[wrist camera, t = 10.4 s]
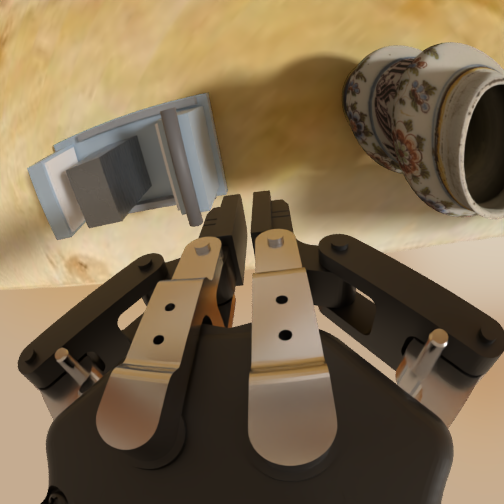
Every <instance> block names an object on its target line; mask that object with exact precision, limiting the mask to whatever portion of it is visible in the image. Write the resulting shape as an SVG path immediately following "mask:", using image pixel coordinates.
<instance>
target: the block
mask: <svg viewBox="0 0 504 504" xmlns="http://www.w3.org/2000/svg"><path fill="white" fill-rule="evenodd" d="M66 173H67V176H68V179H69V181H70V184H71V187H72V189H73V192H74V194H75V197H76V199H77V202H78V204H79V207H80V209H81V211H82V214H83V216H84V218H85V221H86V223H87V225H88V227H89V228H92V227H97V226H102V225H106V224H111V223H116V222H120V221H123V219H124V218H125V217H126V216H127V214H128V213H129V212H130V211H131V210H132V208H133V207H134V206H135V205H136V204H137V202H138V201H139V200H140V199H141V198H142V197H143V195H144V194H145V193H146V192H147V191H148V190H149V189H150V187H151V186H152V184H151V180H150V177H149V174H148V171H147V168H146V164H145V161H144V158H143V154H142V151H141V147H140V144H139V140H138V137H137V135H136V136H133V137H130V138H126V139H123V140H121V141H118V142H115V143H112V144H109V145H107V146H105V147H103V148H101V149H99V150H98V151H96V152H94V153H93V154H91V155H89V156H88V157H86V158H84V159H83V160H81V161H79V162H78V163H76V164H75V165H73V166H72V167H70V168H69V169H67V170H66Z"/></svg>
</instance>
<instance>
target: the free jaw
mask: <svg viewBox="0 0 504 504" xmlns="http://www.w3.org/2000/svg"><path fill="white" fill-rule="evenodd" d="M160 114H161V119H159V120H157V124H155V127H156V131H157V135H158V139H159V143H160V147H161V151H162V155H163V159H164V162H165V166H166V170H167V173H168V177H169V181H170V184H171V188H172V191H173V195H174V198H175V202H176V205H177V208H178V210H181V213H182V215H184V214H187V217H188V221H189V224H190V226H192V227H195V226H199V225H201V224H202V223H203V219H202V215H201V212H204V211H210V210H211V207H212V204H213V201H214V199H215V196H216V193H217V191H218V188H219V185H220V184H219V180H218V175H217V170H216V166H215V161H214V156H213V151H212V146H211V142H210V137H209V132H208V127H207V122H206V117H205V112H204V107H203V106H199V107H194V108H190V109H186V110H181V111H178V112H176V108H175V107H174V108H170V109H166V110H163V111H160Z"/></svg>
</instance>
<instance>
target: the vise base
mask: <svg viewBox="0 0 504 504" xmlns="http://www.w3.org/2000/svg"><path fill="white" fill-rule="evenodd" d="M199 106H203V107H204V112H205V117H206V122H207V127H208V132H209V137H210V142H211V146H212V151H213V156H214V161H215V166H216V170H217V175H218V180H219V184H220V185H219V188H218V191H217V193H216V196H215V199H216V197H217V196H219V195H226V194H227V191H228V189H227V185H226V180H225V175H224V170H223V165H222V160H221V155H220V150H219V145H218V140H217V135H216V130H215V124H214V119H213V114H212V109H211V104H210V99H209V94H208V93H204V94H199V95H195V96H191V97H186V98H182V99H178V100H174V101H170V102H167V103H163V104H160V105H156V106H153V107H149V108H146V109H143V110H140V111H137V112H133V113H130V114H128V115H125V116H122V117H119V118H116V119H113V120H111V121H108V122H105V123H103V124H100V125H98V126H95V127H93V128H90V129H88V130H86V131H83V132H81V133H79V134H76V135H74V136H72V137H70V138H68V139H65V140H63V141H61V142H59V143H57V144H55V145H54V149H55V152H54V153H53V154H51V155H49V156H47V157H45V158H44V159H42V160H40V161H39V162H37V163H35V164H34V165H32V166H30V167H29V168H27V169H28V172H29V175H30V178H31V180H32V183H33V186H34V188H35V191H36V194H37V196H38V199H39V201H40V203H41V206H42V208H43V211H44V213H45V215H46V217H47V220H48V222H49V224H50V226H51V228H52V231H53V233H54V235H55V237H56V239H57V240H60V239H65V238H70V237H72V236H73V235H74V234H75V233H76V232H77V230H78V229H79V228H80V227H81V226H82V225H83V224H84V223H85V222H86V221H85V218H84V216H83V214H82V211H81V209H80V207H79V204H78V202H77V199H76V197H75V194H74V192H73V189H72V187H71V184H70V181H69V179H68V176H67V173H66V170H67V169H69V168H70V167H72V166H73V165H75V164H76V163H78V162H79V161H81V160H83V159H84V158H86V157H88V156H89V155H91V154H93V153H94V152H96V151H98V150H99V149H101V148H103V147H105V146H107V145H109V144H112V143H115V142H118V141H121V140H123V139H126V138H130V137H133V136H136V135H137V137H138V140H139V144H140V147H141V151H142V154H143V158H144V161H145V164H146V168H147V171H148V174H149V177H150V180H151V184H152V186H151V187H150V189H149V190H148V191H147V192H146V193H145V194H144V195H143V197H142V198H141V199H140V200H139V201H138V202H137V204H136V205H135V206H134V207H133V208H132V210H131V211H130V212H129V213H134V212H139V211H144V210H150V209H155V208H161V207H167V206H173V205H176V202H175V198H174V195H173V191H172V188H171V184H170V181H169V177H168V173H167V170H166V166H165V162H164V159H163V155H162V151H161V147H160V143H159V139H158V135H157V131H156V127H155V124H157V120H159V119H161V114H160V111H163V110H166V109H170V108H174V107H175V108H176V112H178V111H181V110H186V109H190V108H194V107H199ZM129 213H128V214H129Z"/></svg>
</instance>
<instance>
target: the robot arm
mask: <svg viewBox="0 0 504 504" xmlns="http://www.w3.org/2000/svg"><path fill="white" fill-rule="evenodd" d="M251 238H252V243H253V249H254V254H255V273H253V275H252V276H253V277H252V323H248V324H244V325H241V326H237V327H233V328H232V324H233V318H234V310H235V303H236V298H235V294H234V292H235V286H240V285H243V281H244V270H245V258H246V247H247V226H246V221H245V215H244V210H243V204H242V199H241V195H240V194H236V195H229V196H224V197H223V200H222V204H221V207H217V208H213V209H212V210H211V211H210V212H209V213H208V214H207V216H206V219H205V222H204V224H203V227H202V230H201V233H200V236H199V238H198V239H196V240H194V241H192V242H190V243H189V244H188V245H187V246H186V247H185V249H184V251H183V254H182V256H181V258H179V259H176V260H173V261H170V262H166V263H165V262H164V259H163V257H162V256H161V255H160V254H156V253H152V254H147V255H144V256H142V257H140V258H138V259H136V260H135V261H134V262H132V263H131V264H129V265H128V266H127V267H125V268H124V269H123V270H121V271H120V272H119V273H117V274H116V275H115V276H113V277H112V278H111V279H109V280H108V281H107V282H105V283H104V284H103V285H101V286H100V287H99V288H98V289H96V290H95V291H93V292H92V293H91V294H90V295H88V296H87V297H86V298H85V299H83V300H82V301H81V302H79V303H78V304H77V305H76V306H74V307H73V308H72V309H71V310H69V311H68V312H67V313H66V314H65V315H63V316H62V317H61V318H60V319H58V320H57V321H56V322H55V323H54V324H52V325H51V326H50V327H49V328H48V329H46V330H45V331H44V332H43V333H42V334H41V335H39V336H38V337H37V338H36V339H35V340H34V341H33V342H31V343H30V344H29V345H28V346H27V347H26V348H25V349H24V350H23V352H22V353H21V355H20V357H19V360H18V369H19V371H20V372H21V373H22V374H23V375H24V376H25V377H26V378H27V379H28V380H29V381H30V382H31V383H33V384H34V386H35V387H36V388H37V389H38V390H39V391H40V392H41V394H42V397H43V399H44V401H45V403H46V405H47V407H48V410H49V411H50V414H51V416H52V418H53V420H54V421H53V423H52V424H51V426H50V428H49V431H48V434H47V439H46V453H47V460H48V468H49V489H48V493H47V496H46V498H45V499H44V501H43V502H42V503H41V504H441V500H442V496H443V491H444V488H445V484H446V481H447V478H448V475H449V472H450V469H451V465H452V462H453V443H452V437H451V435H450V432H449V430H448V428H449V427H450V425H451V424H452V422H453V421H454V419H455V418H456V416H457V415H458V413H459V412H460V410H461V409H462V407H463V406H464V404H465V402H466V401H467V399H468V397H469V395H470V394H471V392H472V390H473V389H474V387H475V385H476V384H477V383H478V382H479V381H480V380H481V379H482V378H483V376H484V375H485V374H486V373H487V372H488V370H489V369H490V368H491V367H492V366H493V364H494V363H495V362H496V361H497V359H498V358H499V357H500V356H501V354H502V353H503V351H504V330H503V328H502V327H501V325H500V324H499V323H498V322H497V321H496V320H494V319H493V318H491V317H490V316H488V315H487V314H485V313H484V312H482V311H481V310H479V309H477V308H476V307H474V306H473V305H471V304H469V303H468V302H466V301H465V300H463V299H461V298H460V297H458V296H457V295H455V294H454V293H452V292H450V291H449V290H447V289H445V288H444V287H442V286H440V285H439V284H437V283H435V282H434V281H432V280H430V279H428V278H427V277H425V276H423V275H421V274H419V273H418V272H416V271H414V270H413V269H411V268H409V267H407V266H406V265H404V264H402V263H400V262H398V261H397V260H395V259H393V258H391V257H389V256H387V255H386V254H384V253H382V252H380V251H378V250H376V249H374V248H373V247H371V246H369V245H367V244H365V243H363V242H361V241H359V240H357V239H355V238H353V237H351V236H348V235H344V234H333V235H329V236H326V237H324V238H323V239H322V240H321V241H320V242H319V246H316V245H308V244H305V243H302V242H300V241H298V240H297V239H296V237H295V235H294V233H293V228H292V222H291V217H290V211H289V206H288V204H287V203H286V202H285V201H284V200H274V201H271V196H270V190H269V191H260V192H254V193H253V207H252V221H251ZM356 288H357V289H358V290H360V291H361V292H363V293H364V294H366V295H367V296H369V297H370V298H371V299H372V300H373V301H374V303H375V304H374V303H373V302H371V301H370V300H368V299H367V298H365V297H364V296H362V295H361V294H359V293H358V292H356ZM140 298H142V299H143V301H144V303H145V304H146V306H147V308H146V310H145V312H144V313H143V314H142V315H141V316H139V317H138V318H137V319H136V320H135V321H133V322H132V323H131V324H130V325H129V326H128V327H126V328H125V329H124V330H120V329H119V327H118V325H117V321H118V318H119V316H120V315H121V314H122V313H123V312H124V311H126V310H127V309H128V308H129V307H131V306H132V305H133V304H134V303H136V302H137V301H138V300H139V299H140ZM314 305H317V306H318V307H319V310H320V312H321V313H322V314H323V315H325V316H326V317H327V318H328V319H330V320H331V321H332V322H333V323H335V324H336V325H337V326H339V327H340V328H341V329H342V330H344V331H345V332H346V333H348V334H349V335H350V336H351V337H353V338H354V339H355V340H356V341H358V342H359V343H360V344H362V345H363V346H364V347H366V348H367V349H368V350H369V351H371V352H372V353H373V354H375V355H376V356H377V357H378V358H380V359H381V360H382V361H383V362H385V363H386V364H387V365H389V366H390V367H391V368H393V369H394V370H395V371H396V382H397V384H398V385H397V384H396V383H394V382H393V381H392V380H390V379H389V378H388V377H386V376H385V375H384V374H383V373H381V372H380V371H379V370H377V369H376V368H375V367H374V366H372V365H371V364H370V363H368V362H367V361H366V360H365V359H363V358H362V357H361V356H359V355H358V354H357V353H356V352H354V351H353V350H352V349H351V348H349V347H348V346H347V345H345V344H344V343H343V342H342V341H340V340H339V339H338V338H336V337H334V336H333V335H331V334H330V333H327V332H325V331H323V330H320V329H318V324H317V319H316V314H315V310H314Z"/></svg>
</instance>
